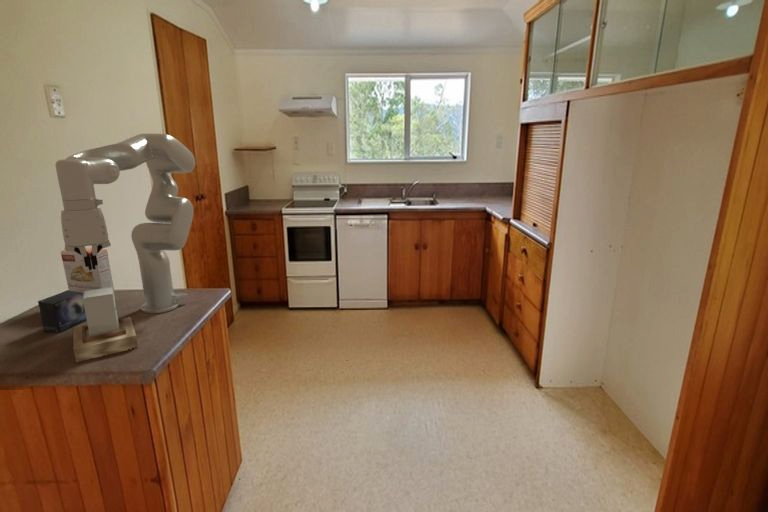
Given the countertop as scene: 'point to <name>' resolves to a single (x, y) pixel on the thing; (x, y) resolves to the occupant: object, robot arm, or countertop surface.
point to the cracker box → (86, 271)
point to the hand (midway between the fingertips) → (92, 268)
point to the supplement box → (100, 311)
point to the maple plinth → (104, 341)
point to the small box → (62, 311)
